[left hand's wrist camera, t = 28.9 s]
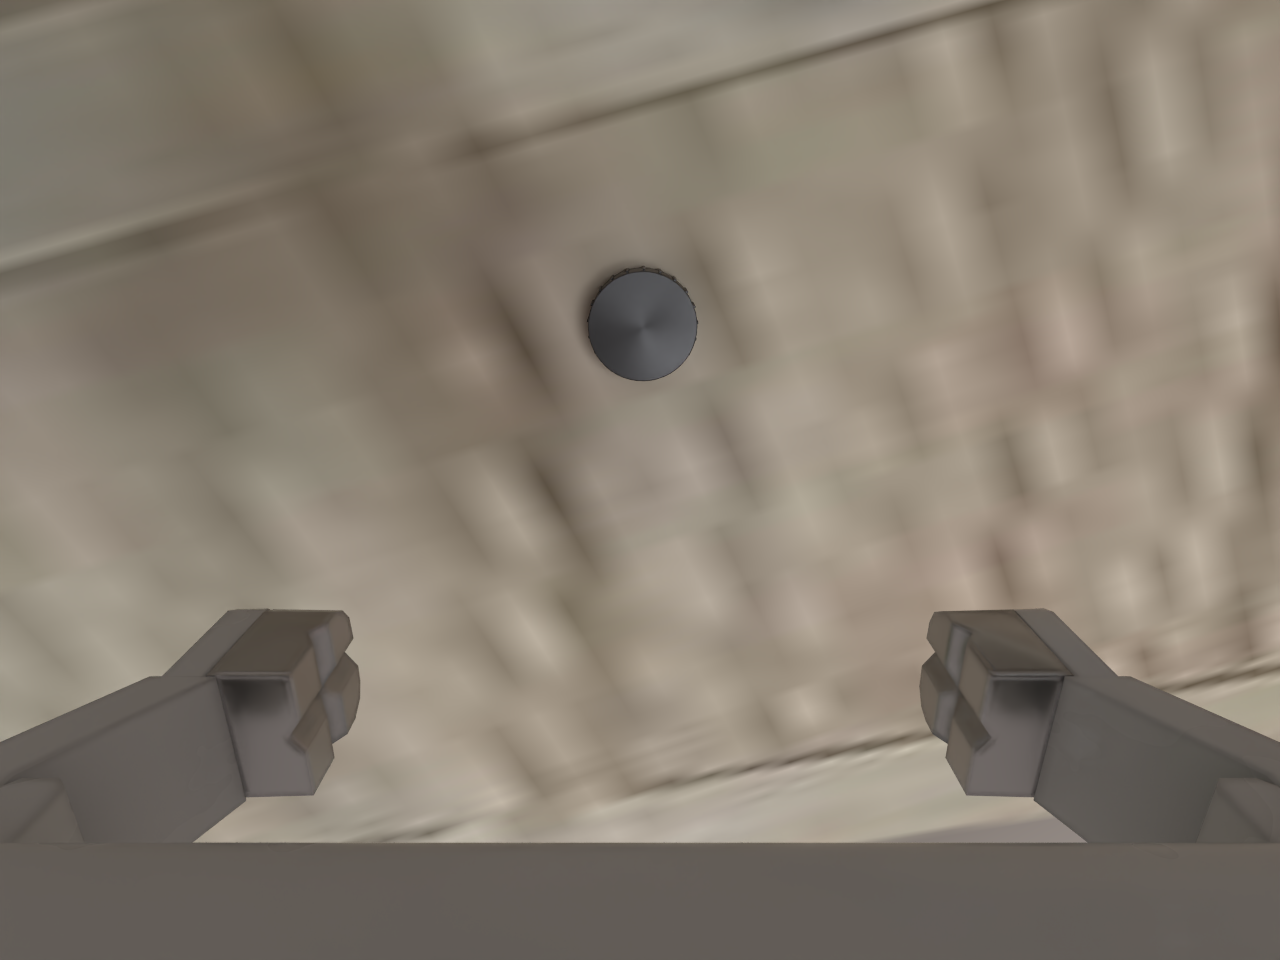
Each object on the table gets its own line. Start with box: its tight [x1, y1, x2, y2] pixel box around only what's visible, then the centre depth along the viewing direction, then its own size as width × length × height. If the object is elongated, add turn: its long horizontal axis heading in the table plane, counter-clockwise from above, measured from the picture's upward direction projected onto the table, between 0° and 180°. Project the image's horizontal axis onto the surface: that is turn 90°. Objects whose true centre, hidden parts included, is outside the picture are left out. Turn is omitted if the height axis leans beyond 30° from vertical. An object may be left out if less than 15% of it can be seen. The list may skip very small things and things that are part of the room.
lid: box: [587, 266, 698, 381], centre depth 37 cm, size 6×6×2 cm
